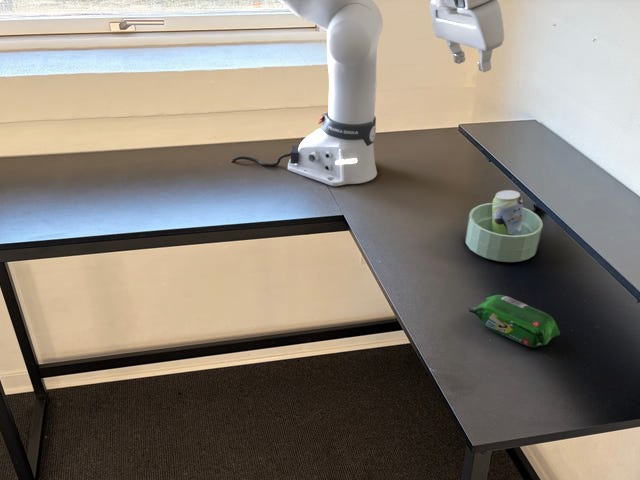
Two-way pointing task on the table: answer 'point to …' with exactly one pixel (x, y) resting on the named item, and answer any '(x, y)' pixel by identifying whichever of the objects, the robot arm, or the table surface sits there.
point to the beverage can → (507, 213)
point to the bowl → (502, 236)
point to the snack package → (516, 320)
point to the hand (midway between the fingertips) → (472, 66)
